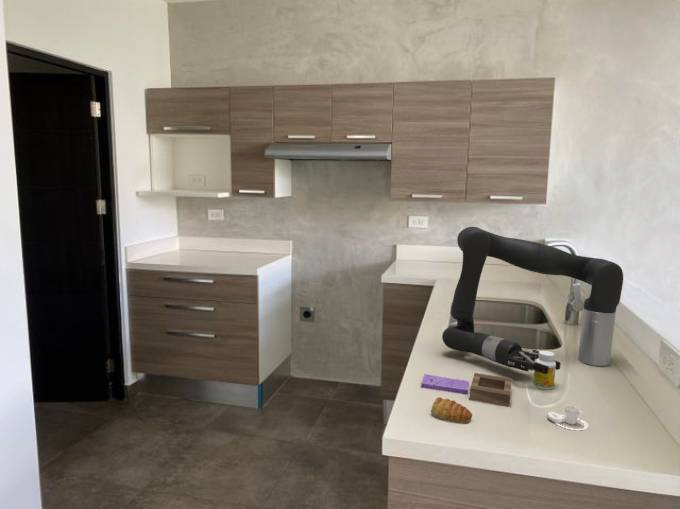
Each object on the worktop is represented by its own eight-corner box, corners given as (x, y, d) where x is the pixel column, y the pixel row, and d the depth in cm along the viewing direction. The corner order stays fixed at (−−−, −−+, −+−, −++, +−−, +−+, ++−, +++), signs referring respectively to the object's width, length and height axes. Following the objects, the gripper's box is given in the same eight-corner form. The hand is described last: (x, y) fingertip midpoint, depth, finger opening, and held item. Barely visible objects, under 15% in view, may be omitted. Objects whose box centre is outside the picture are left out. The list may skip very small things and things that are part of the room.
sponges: (423, 380, 147) (424, 373, 147) (468, 386, 144) (469, 380, 144) (420, 389, 141) (420, 382, 141) (467, 396, 137) (468, 389, 137)
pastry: (475, 417, 124) (476, 402, 124) (466, 428, 119) (467, 412, 118) (438, 407, 129) (439, 392, 129) (428, 417, 124) (429, 402, 123)
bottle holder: (473, 382, 145) (474, 372, 145) (510, 388, 142) (511, 378, 141) (469, 399, 134) (470, 388, 134) (509, 406, 131) (510, 395, 130)
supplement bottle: (530, 386, 144) (533, 353, 143) (536, 380, 148) (539, 348, 147) (550, 391, 141) (553, 357, 139) (556, 385, 145) (559, 352, 144)
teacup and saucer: (543, 422, 124) (544, 406, 123) (557, 412, 129) (558, 397, 129) (580, 436, 117) (582, 419, 117) (593, 425, 123) (595, 409, 122)
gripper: (487, 343, 150) (541, 360, 137) (516, 335, 159) (568, 350, 146) (485, 367, 151) (538, 387, 138) (514, 358, 160) (566, 375, 147)
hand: (553, 368), depth 142 cm, fingers closed on supplement bottle, 5 cm apart
